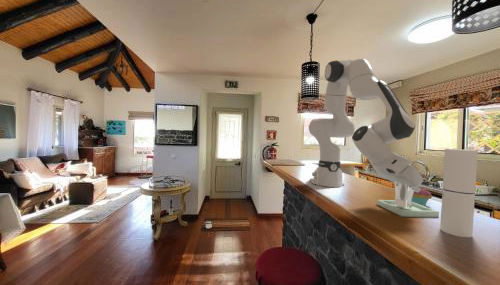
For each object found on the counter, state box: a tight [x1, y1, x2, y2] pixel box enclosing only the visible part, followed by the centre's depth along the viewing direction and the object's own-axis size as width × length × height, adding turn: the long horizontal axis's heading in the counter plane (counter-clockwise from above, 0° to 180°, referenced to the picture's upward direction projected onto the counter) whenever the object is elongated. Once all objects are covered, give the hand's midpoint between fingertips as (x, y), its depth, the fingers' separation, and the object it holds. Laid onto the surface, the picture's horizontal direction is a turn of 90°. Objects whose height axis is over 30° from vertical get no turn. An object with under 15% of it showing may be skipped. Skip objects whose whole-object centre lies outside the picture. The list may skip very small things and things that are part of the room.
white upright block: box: [393, 182, 414, 210], centre depth 88 cm, size 7×7×15 cm
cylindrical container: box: [439, 148, 479, 238], centre depth 67 cm, size 7×7×25 cm
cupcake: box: [411, 187, 433, 207], centre depth 97 cm, size 9×8×12 cm
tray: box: [376, 199, 440, 218], centre depth 87 cm, size 14×14×2 cm
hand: (408, 188), depth 87 cm, fingers open, 8 cm apart
